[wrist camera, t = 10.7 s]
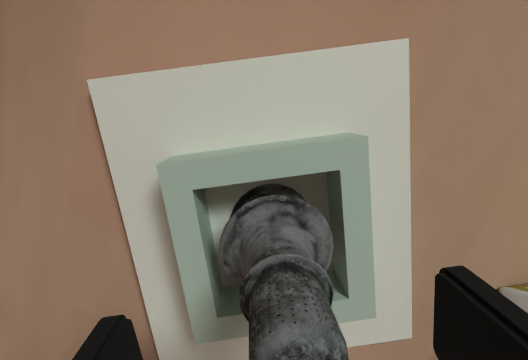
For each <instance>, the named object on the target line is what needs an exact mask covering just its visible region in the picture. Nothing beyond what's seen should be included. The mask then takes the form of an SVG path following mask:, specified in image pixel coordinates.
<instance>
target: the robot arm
mask: <svg viewBox="0 0 528 360" xmlns="http://www.w3.org/2000/svg"><path fill="white" fill-rule="evenodd" d="M433 347H434V351H435V353H436V355H437V357H438V359H439V360H528V313H527V312H525V311H524V310H523V309H521V308H520V307H519V306H517V305H516V304H515V303H513V302H512V301H511V300H509V299H508V298H506V297H505V296H504V295H502V294H501V293H500V292H498V291H497V290H496V289H494V288H493V287H492V286H490V285H489V284H487V283H486V282H485V281H483V280H482V279H481V278H479V277H478V276H477V275H475V274H474V273H473V272H471V271H470V270H468V269H467V268H466V267H464V266H454V267H447V268H442V269H441V270H440V271H439V274H437V275H436V276H435V298H434V335H433ZM72 360H143V358H142V355H141V351H140V348H139V344H138V341H137V337H136V334H135V331H134V327H133V324H132V321H131V320H130V319H126V317H125V316H124V315H117V316H110V317H104V318H101V320H100V321H99V322H98V323H97V325H96V326H95V328H94V329H93V330H92V332H91V333H90V335H89V336H88V338H87V339H86V341H85V342H84V343H83V345H82V346H81V348H80V349H79V351H78V352H77V353H76V355H75V356H74V358H73V359H72Z"/></svg>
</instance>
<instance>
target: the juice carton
mask: <svg viewBox="0 0 528 360" xmlns="http://www.w3.org/2000/svg"><path fill="white" fill-rule="evenodd" d="M499 292H500V293H501V294H502V295H504V296H505V297H506V298H508V299H509V300H511V301H512V302H513V303H515V304H516V305H517V306H519V307H520V308H521V309H523V310H524V311H525V312H527V313H528V284H521V285H514V286H507V287H502V288H499Z"/></svg>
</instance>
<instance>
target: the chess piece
mask: <svg viewBox="0 0 528 360" xmlns="http://www.w3.org/2000/svg"><path fill="white" fill-rule="evenodd" d="M333 248H334V245H333V238H332V232H331V230H330V228H329V225H328V223H327V221H326V219H325V218H324V217H323V216H322V214H321V213H320V212H319V211H318V210H317V209H316V208H315V207H313V206H312V205H311V204H309V203H308V202H307V201H306V200H305V199H304V198H303V196H302V195H301V194H300V193H298V192H297V191H295V190H294V189H292V188H290V187H287V186H284V185H281V184H265V185H260V186H257V187H255V188H253V189H251V190H249V191H247V192H246V193H245V194H244V195H243V196H241V197H240V199H239V200H238V201H237V203H236V204H235V206H234V208H233V211H232V213H231V216H230V219H229V221H228V222H227V223H226V225H225V227H224V230H223V233H222V236H221V238H220V250H219V255H220V259H221V263H222V267H223V269H224V271H225V273H226V275H227V276H228V278H229V280H230V281H231V282H232V283H233V284H234V285H235V286H236V287H237V288H238V289H240V290H239V303H240V308H241V311H242V313H243V315H244V316H245V318H246V320H247V321H248V322H249V360H349V359H348V352H347V345H346V341H345V339H344V336H343V334H342V332H341V329H340V327H339V325H338V322H337V320H336V317H335V315H334V313H333V310H332V308H331V305H332V301H333V287H332V282H331V280H330V278H329V276H328V274H327V272H326V271H327V269H328V267H329V265H330V263H331V260H332V254H333Z"/></svg>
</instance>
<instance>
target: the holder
mask: <svg viewBox="0 0 528 360" xmlns="http://www.w3.org/2000/svg"><path fill="white" fill-rule="evenodd" d="M87 83H88V86H89V90H90V94H91V98H92V102H93V106H94V110H95V114H96V117H97V121H98V125H99V129H100V133H101V137H102V141H103V144H104V148H105V152H106V156H107V160H108V164H109V168H110V172H111V175H112V179H113V183H114V187H115V191H116V195H117V199H118V202H119V206H120V210H121V214H122V218H123V222H124V226H125V230H126V233H127V237H128V241H129V245H130V249H131V253H132V257H133V260H134V264H135V268H136V272H137V276H138V280H139V284H140V288H141V291H142V295H143V299H144V303H145V307H146V311H147V315H148V318H149V322H150V326H151V330H152V334H153V338H154V342H155V346H156V349H157V353H158V357H159V360H249V322H248V321H247V320H246V318H245V316H244V315H243V313H242V311H241V308H240V303H239V290H240V289H238V288H237V287H236V286H235V285H234V284H233V283H232V282H231V281H230V280H229V278H228V276H227V275H226V273H225V271H224V269H223V267H222V263H221V259H220V255H219V250H220V238H221V236H222V233H223V230H224V227H225V225H226V223H227V222H228V221H229V219H230V216H231V213H232V211H233V208H234V206H235V204H236V203H237V201H238V200H239V199H240V197H241V196H243V195H244V194H245V193H246V192H247V191H249V190H251V189H253V188H255V187H257V186H260V185H265V184H281V185H284V186H287V187H290V188H292V189H294V190H295V191H297V192H298V193H300V194H301V195H302V196H303V198H304V199H305V200H306V201H307V202H308V203H309V204H311V205H312V206H313V207H315V208H316V209H317V210H318V211H319V212H320V213H321V214H322V216H323V217H324V218H325V219H326V221H327V223H328V225H329V228H330V230H331V232H332V238H333V245H334V248H333V254H332V260H331V263H330V265H329V267H328V269H327V271H326V272H327V274H328V276H329V278H330V280H331V282H332V287H333V301H332V305H331V308H332V310H333V313H334V315H335V317H336V320H337V322H338V325H339V327H340V329H341V332H342V334H343V336H344V339H345V341H346V345H347V347H353V346H360V345H367V344H374V343H381V342H387V341H394V340H401V339H408V338H412V286H411V193H410V100H409V38H407V39H399V40H391V41H383V42H376V43H368V44H360V45H353V46H345V47H337V48H329V49H322V50H314V51H306V52H299V53H291V54H283V55H275V56H268V57H260V58H252V59H244V60H237V61H229V62H221V63H214V64H206V65H198V66H190V67H183V68H175V69H167V70H159V71H152V72H144V73H136V74H129V75H121V76H113V77H105V78H98V79H90V80H87Z"/></svg>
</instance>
